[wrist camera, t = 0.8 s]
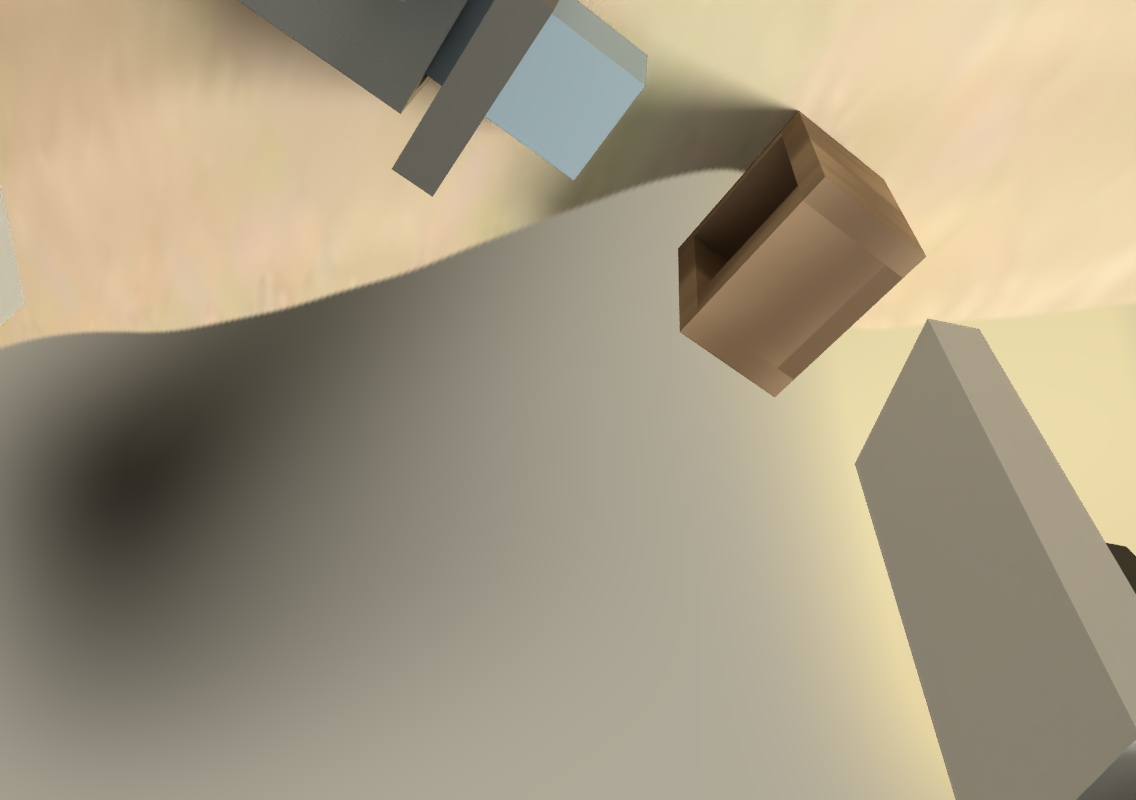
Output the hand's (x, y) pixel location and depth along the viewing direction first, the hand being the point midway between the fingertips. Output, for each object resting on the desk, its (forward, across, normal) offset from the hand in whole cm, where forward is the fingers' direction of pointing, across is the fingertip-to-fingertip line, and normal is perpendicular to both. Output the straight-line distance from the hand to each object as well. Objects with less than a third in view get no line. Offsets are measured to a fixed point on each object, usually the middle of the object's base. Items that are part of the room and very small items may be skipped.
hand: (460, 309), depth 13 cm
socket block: (+23, +10, -7) cm, 26 cm away
